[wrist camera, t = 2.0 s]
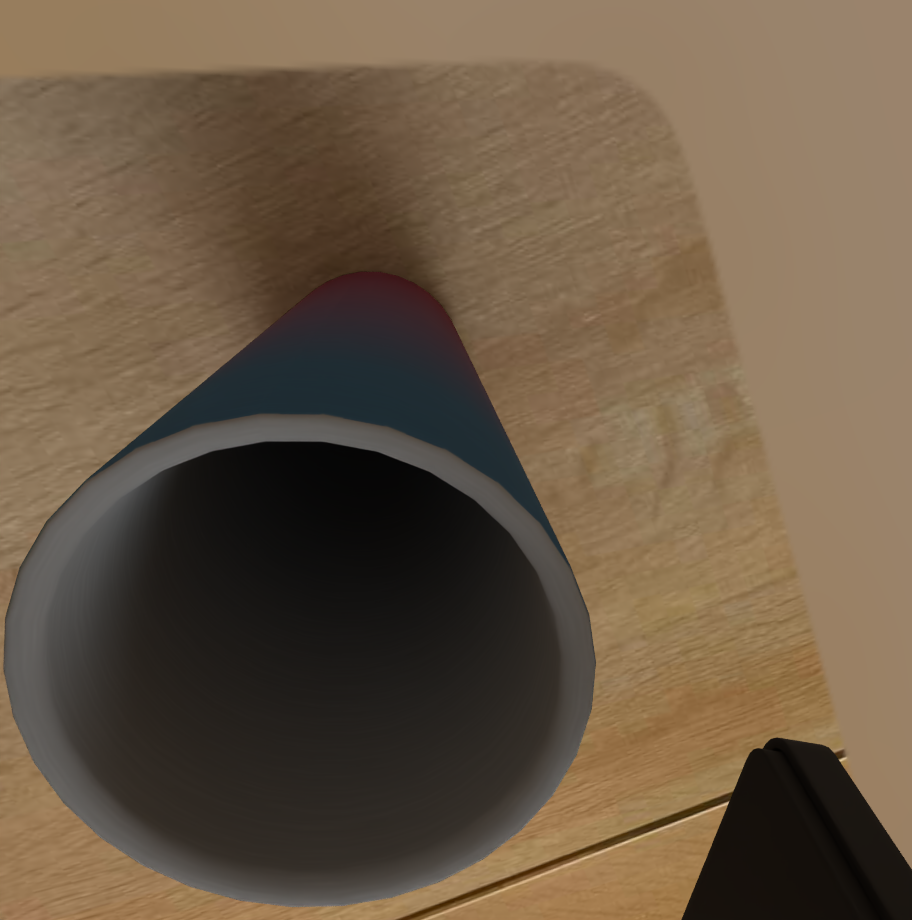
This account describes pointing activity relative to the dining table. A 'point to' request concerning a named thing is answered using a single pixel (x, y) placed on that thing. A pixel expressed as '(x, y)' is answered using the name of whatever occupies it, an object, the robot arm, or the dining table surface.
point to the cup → (308, 620)
